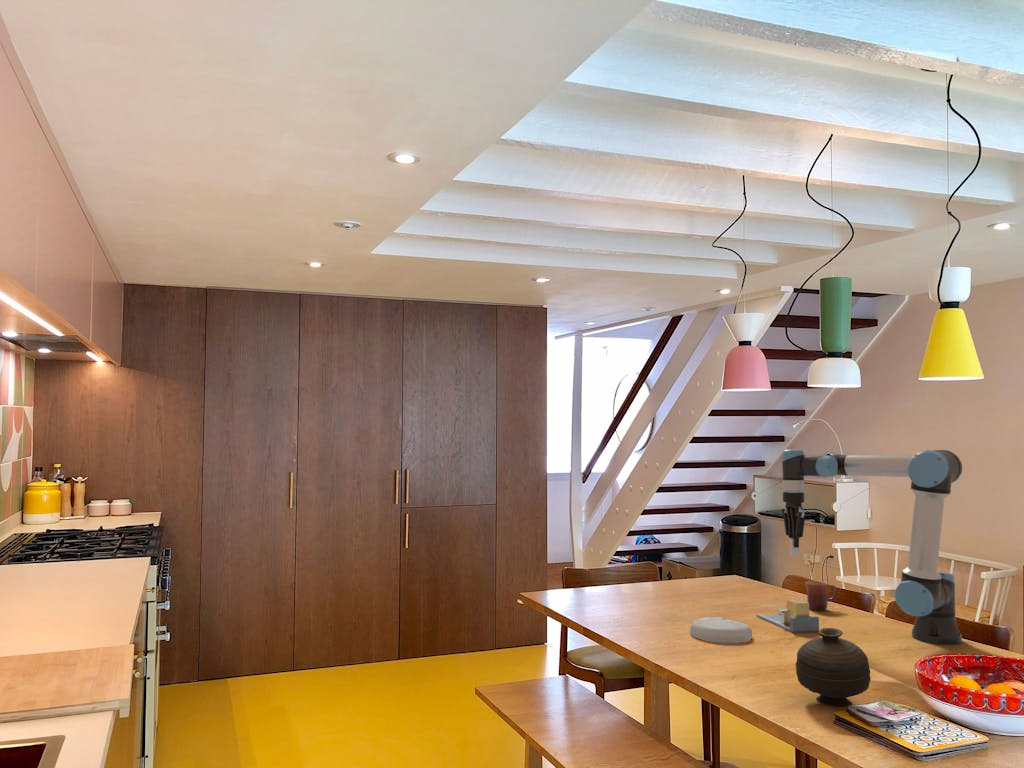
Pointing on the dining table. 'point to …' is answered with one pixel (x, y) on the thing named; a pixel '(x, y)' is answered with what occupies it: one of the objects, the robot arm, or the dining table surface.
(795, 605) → the brass block
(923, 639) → the robot arm
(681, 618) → the dining table surface
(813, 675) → the pot
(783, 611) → the slide jaw
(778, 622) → the vise body
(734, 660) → the dining table surface
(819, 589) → the mug
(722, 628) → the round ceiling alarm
